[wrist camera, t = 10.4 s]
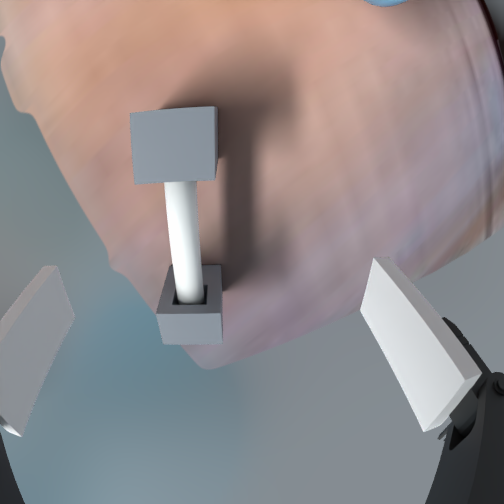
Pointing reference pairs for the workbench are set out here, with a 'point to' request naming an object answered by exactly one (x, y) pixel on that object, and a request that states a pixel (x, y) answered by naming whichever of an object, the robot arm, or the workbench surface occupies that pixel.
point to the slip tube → (185, 241)
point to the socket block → (192, 311)
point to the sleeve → (174, 144)
